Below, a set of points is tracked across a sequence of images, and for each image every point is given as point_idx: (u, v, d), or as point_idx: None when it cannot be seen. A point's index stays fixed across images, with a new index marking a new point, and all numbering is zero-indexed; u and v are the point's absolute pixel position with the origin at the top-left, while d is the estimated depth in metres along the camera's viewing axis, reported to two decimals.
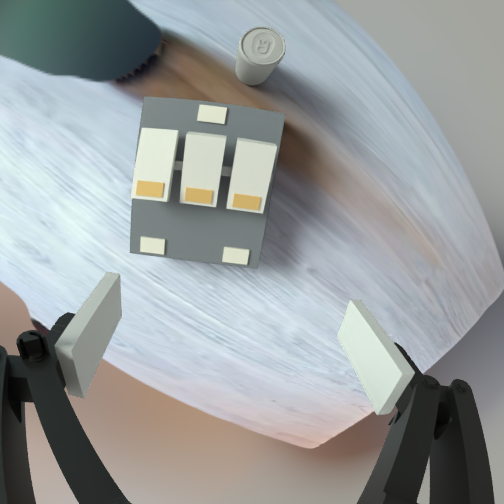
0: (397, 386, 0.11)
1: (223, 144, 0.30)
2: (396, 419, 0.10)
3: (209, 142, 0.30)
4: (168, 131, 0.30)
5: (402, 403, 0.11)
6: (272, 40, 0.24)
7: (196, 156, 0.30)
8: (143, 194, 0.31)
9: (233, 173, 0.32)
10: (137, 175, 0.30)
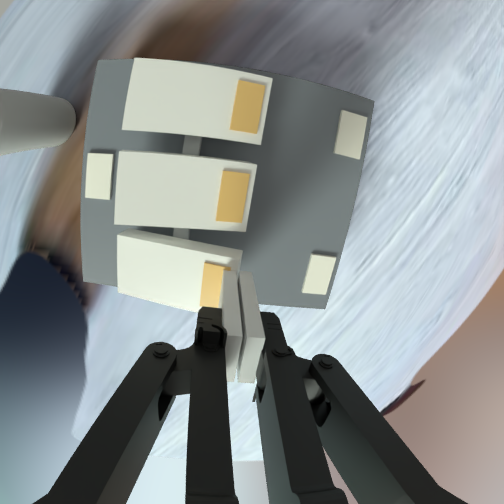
0: (247, 351, 0.12)
1: (130, 155, 0.15)
2: (259, 397, 0.11)
3: (128, 181, 0.15)
4: (120, 250, 0.18)
5: (258, 379, 0.12)
6: None
7: (155, 203, 0.16)
8: None
9: (188, 132, 0.15)
10: (191, 305, 0.19)
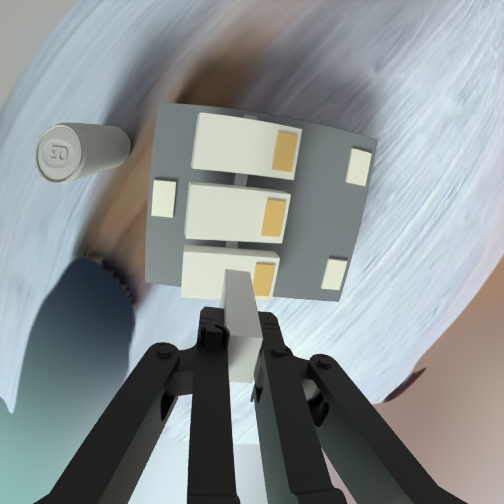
0: (245, 351, 0.12)
1: (199, 187, 0.22)
2: (257, 397, 0.11)
3: (197, 207, 0.22)
4: (185, 263, 0.24)
5: (256, 379, 0.12)
6: (50, 142, 0.17)
7: (217, 223, 0.23)
8: (269, 286, 0.26)
9: (242, 171, 0.22)
10: None
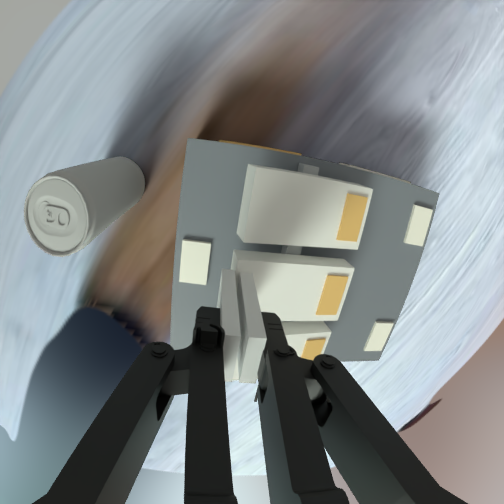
0: (249, 351, 0.12)
1: (248, 263, 0.18)
2: (261, 397, 0.11)
3: None
4: None
5: (260, 379, 0.12)
6: (43, 200, 0.13)
7: (267, 303, 0.19)
8: None
9: (303, 243, 0.18)
10: None
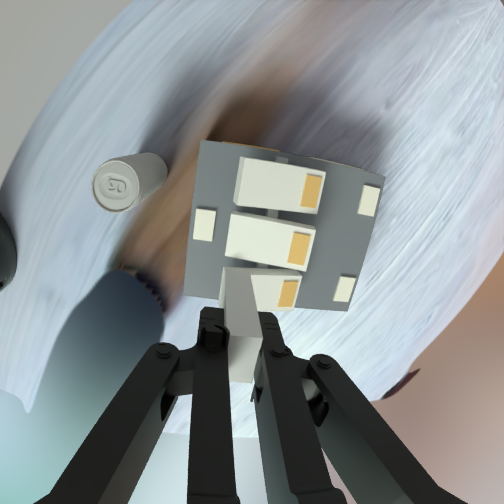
0: (245, 351, 0.12)
1: (237, 217, 0.28)
2: (257, 397, 0.11)
3: (235, 232, 0.28)
4: None
5: (256, 378, 0.12)
6: (107, 176, 0.22)
7: (250, 247, 0.29)
8: (292, 299, 0.31)
9: (276, 207, 0.27)
10: (272, 307, 0.31)
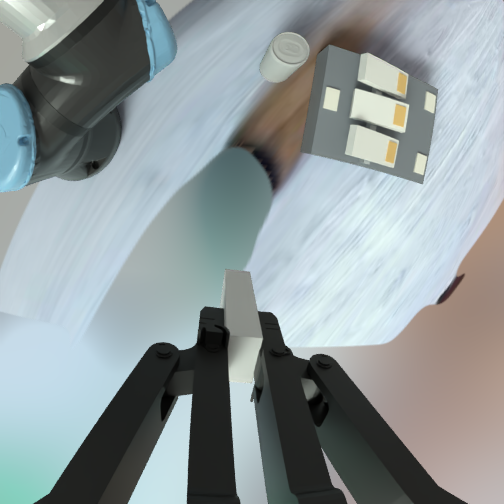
0: (245, 351, 0.12)
1: (359, 90, 0.34)
2: (257, 397, 0.11)
3: (358, 100, 0.35)
4: (357, 132, 0.35)
5: (256, 379, 0.12)
6: (285, 40, 0.28)
7: (368, 111, 0.35)
8: (394, 157, 0.38)
9: (385, 87, 0.33)
10: (382, 161, 0.37)
